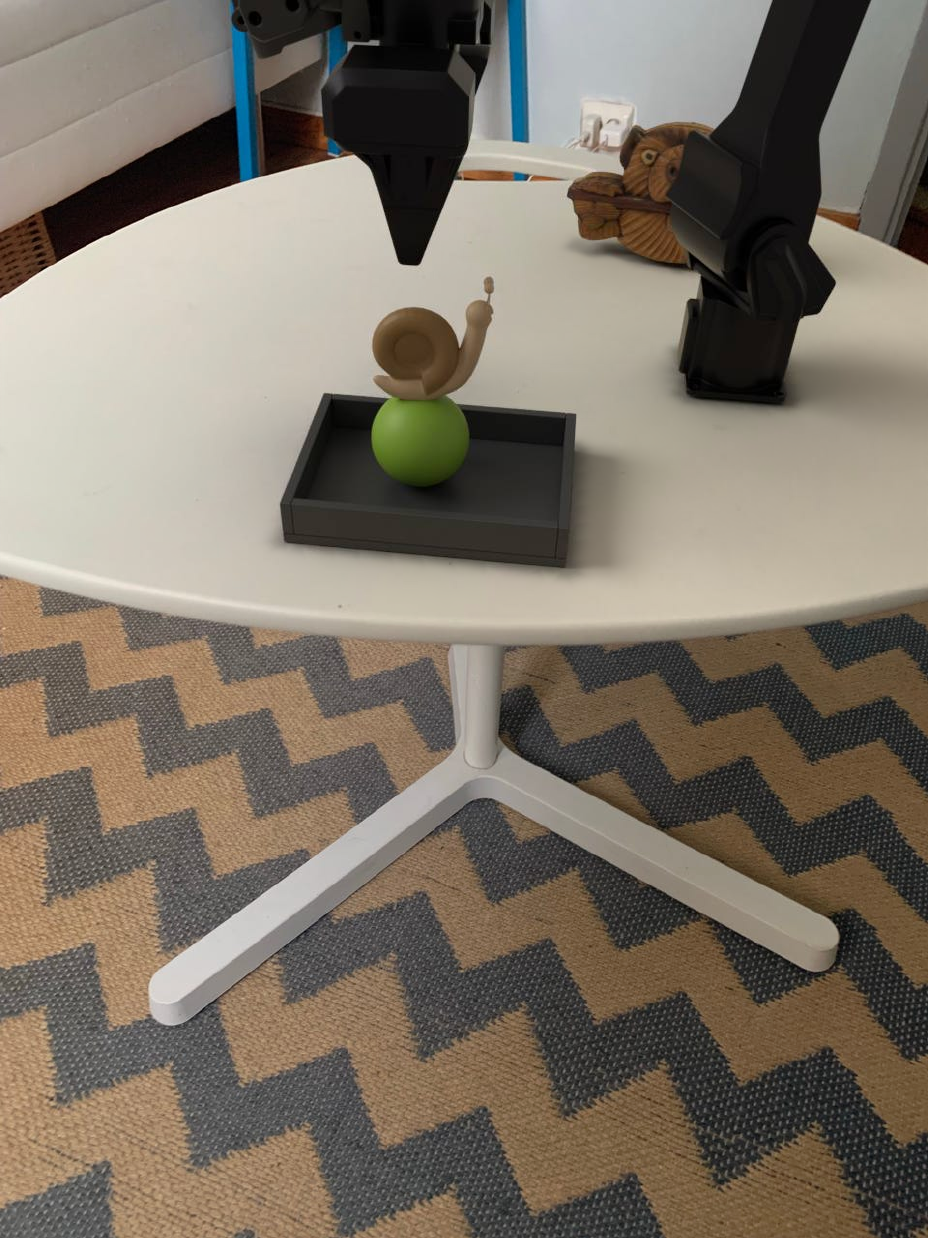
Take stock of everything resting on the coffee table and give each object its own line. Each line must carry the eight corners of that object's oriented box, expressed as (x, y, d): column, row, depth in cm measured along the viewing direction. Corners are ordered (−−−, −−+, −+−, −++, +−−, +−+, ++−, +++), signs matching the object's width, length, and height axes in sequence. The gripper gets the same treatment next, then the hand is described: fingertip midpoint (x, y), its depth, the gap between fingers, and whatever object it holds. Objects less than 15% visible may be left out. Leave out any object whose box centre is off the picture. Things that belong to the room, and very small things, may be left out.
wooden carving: (558, 258, 83) (570, 126, 77) (566, 235, 87) (578, 107, 80) (767, 283, 81) (799, 150, 74) (768, 259, 84) (798, 129, 78)
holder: (572, 449, 64) (576, 412, 62) (565, 567, 55) (570, 529, 54) (326, 429, 65) (323, 392, 63) (283, 542, 56) (279, 503, 55)
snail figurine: (486, 507, 58) (497, 305, 50) (370, 505, 58) (362, 302, 50) (483, 451, 62) (493, 256, 54) (375, 450, 62) (368, 254, 54)
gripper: (279, -167, 52) (304, 156, 63) (172, -100, 39) (227, 297, 49) (502, -158, 52) (489, 166, 62) (473, -87, 38) (463, 311, 49)
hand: (420, 226), depth 56 cm, fingers open, 9 cm apart
